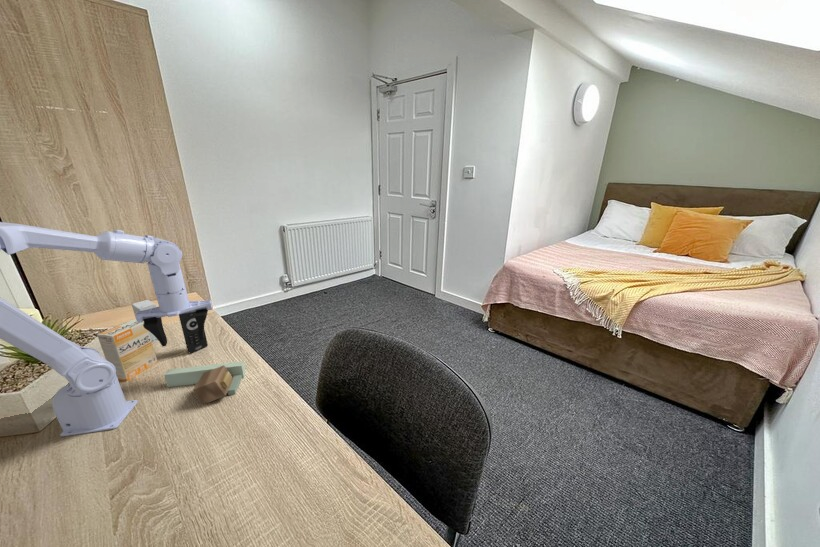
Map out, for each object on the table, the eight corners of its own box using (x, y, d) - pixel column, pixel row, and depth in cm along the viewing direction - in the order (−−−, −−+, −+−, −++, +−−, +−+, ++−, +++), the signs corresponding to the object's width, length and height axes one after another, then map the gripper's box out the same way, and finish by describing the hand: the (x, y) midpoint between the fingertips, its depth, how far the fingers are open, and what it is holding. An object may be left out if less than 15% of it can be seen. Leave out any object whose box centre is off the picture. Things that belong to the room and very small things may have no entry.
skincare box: (166, 338, 95) (156, 303, 91) (149, 344, 92) (138, 309, 88) (157, 332, 98) (147, 299, 94) (141, 338, 95) (130, 303, 91)
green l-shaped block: (154, 405, 69) (150, 392, 68) (171, 382, 76) (168, 369, 75) (237, 394, 73) (234, 381, 72) (246, 373, 80) (243, 361, 79)
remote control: (191, 355, 87) (178, 308, 82) (188, 353, 88) (175, 306, 83) (209, 347, 91) (198, 301, 86) (206, 345, 92) (195, 300, 87)
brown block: (192, 389, 68) (218, 380, 69) (203, 373, 74) (227, 364, 74) (203, 404, 70) (228, 394, 70) (213, 386, 75) (236, 377, 76)
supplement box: (127, 382, 76) (111, 336, 72) (112, 379, 77) (95, 334, 73) (159, 362, 84) (146, 320, 79) (145, 360, 85) (131, 318, 80)
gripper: (125, 302, 64) (142, 356, 69) (206, 290, 71) (217, 341, 76) (134, 290, 70) (149, 341, 75) (208, 280, 77) (218, 328, 81)
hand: (184, 340), depth 76 cm, fingers open, 7 cm apart
